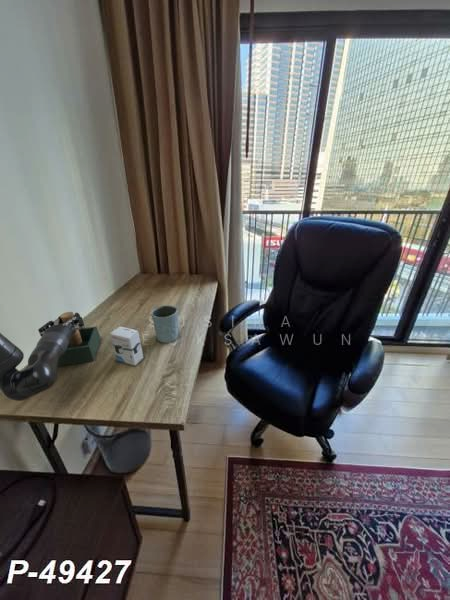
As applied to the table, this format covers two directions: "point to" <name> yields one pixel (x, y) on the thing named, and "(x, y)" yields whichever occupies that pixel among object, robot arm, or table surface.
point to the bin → (82, 348)
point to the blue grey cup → (165, 323)
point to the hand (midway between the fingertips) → (70, 315)
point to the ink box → (127, 345)
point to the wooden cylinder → (76, 336)
